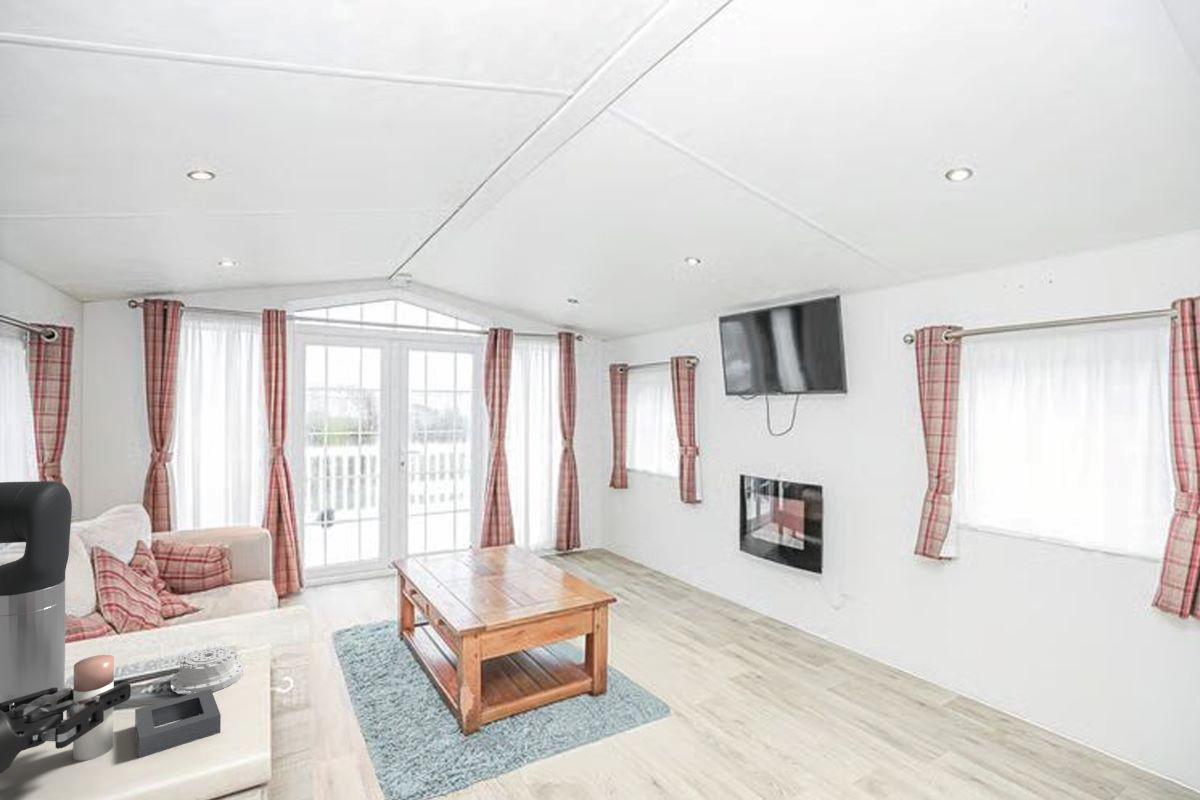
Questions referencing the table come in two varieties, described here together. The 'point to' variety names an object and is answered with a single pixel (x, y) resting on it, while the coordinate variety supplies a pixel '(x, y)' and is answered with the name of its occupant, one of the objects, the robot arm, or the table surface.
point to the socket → (178, 731)
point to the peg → (88, 682)
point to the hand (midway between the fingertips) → (116, 687)
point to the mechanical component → (208, 670)
